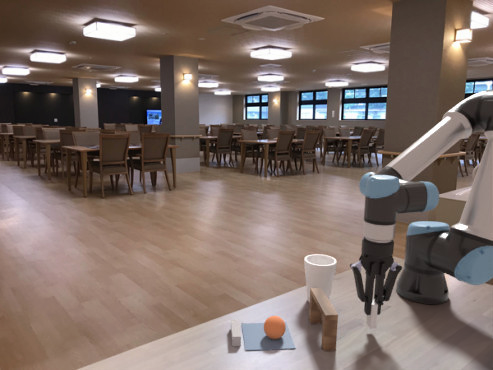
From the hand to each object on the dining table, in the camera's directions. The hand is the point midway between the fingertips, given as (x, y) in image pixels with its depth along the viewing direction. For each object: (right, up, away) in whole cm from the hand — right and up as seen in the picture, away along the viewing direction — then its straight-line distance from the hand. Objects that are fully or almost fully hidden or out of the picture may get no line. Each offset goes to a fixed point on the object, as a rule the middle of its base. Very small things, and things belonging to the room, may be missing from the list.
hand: (371, 325), depth 104 cm
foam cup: (-11, +1, +17) cm, 20 cm away
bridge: (-13, -2, -1) cm, 13 cm away
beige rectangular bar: (-35, -2, -3) cm, 35 cm away
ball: (-25, +1, -3) cm, 25 cm away
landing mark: (-27, -2, -2) cm, 27 cm away
